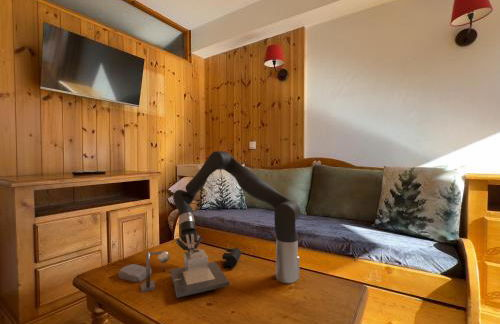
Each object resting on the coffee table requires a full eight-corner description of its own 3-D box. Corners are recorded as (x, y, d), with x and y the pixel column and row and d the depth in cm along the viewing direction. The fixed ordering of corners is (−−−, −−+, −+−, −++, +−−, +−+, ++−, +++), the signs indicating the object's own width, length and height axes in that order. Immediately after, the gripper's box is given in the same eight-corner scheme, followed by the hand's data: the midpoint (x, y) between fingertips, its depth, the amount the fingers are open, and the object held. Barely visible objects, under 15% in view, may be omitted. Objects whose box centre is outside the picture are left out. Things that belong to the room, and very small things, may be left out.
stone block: (134, 272, 113) (115, 278, 104) (136, 262, 114) (117, 266, 105) (154, 278, 109) (136, 285, 100) (156, 267, 110) (138, 273, 101)
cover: (203, 264, 110) (203, 246, 110) (208, 273, 103) (208, 252, 102) (184, 268, 107) (184, 248, 106) (187, 277, 99) (187, 256, 99)
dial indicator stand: (168, 280, 103) (168, 247, 103) (170, 286, 98) (170, 251, 98) (141, 286, 98) (141, 251, 98) (141, 292, 94) (141, 256, 94)
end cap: (236, 270, 113) (236, 255, 113) (222, 268, 114) (222, 254, 114) (241, 260, 123) (241, 247, 123) (227, 259, 124) (227, 246, 124)
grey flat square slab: (214, 264, 114) (214, 261, 114) (229, 285, 96) (229, 281, 96) (170, 272, 106) (170, 269, 105) (176, 297, 87) (176, 293, 87)
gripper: (174, 221, 117) (178, 256, 107) (201, 218, 123) (207, 251, 112) (172, 229, 122) (176, 263, 112) (199, 226, 128) (204, 258, 117)
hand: (192, 257), depth 112 cm, fingers closed
